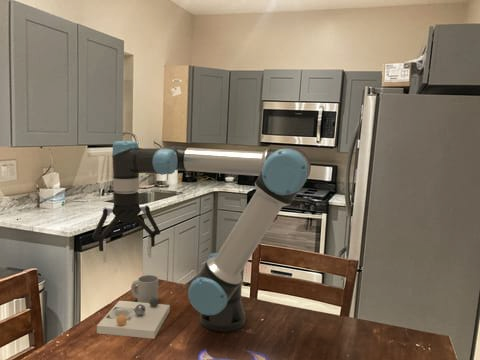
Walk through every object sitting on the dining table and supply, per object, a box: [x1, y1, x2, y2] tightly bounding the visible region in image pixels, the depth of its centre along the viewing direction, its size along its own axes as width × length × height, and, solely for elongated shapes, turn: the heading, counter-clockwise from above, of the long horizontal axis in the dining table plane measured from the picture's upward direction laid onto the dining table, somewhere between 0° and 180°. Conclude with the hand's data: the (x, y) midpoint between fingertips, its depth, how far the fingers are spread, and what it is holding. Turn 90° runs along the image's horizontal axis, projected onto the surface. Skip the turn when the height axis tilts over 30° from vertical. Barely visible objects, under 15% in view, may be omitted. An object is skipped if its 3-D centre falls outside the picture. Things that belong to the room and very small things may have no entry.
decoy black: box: [149, 298, 159, 307], centre depth 138 cm, size 3×3×3 cm
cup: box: [130, 274, 159, 303], centre depth 147 cm, size 7×10×9 cm
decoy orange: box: [117, 315, 127, 325], centre depth 125 cm, size 3×3×3 cm
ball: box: [135, 304, 146, 316], centre depth 132 cm, size 4×4×4 cm
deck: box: [96, 300, 171, 340], centre depth 132 cm, size 18×18×2 cm
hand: (127, 258), depth 127 cm, fingers open, 13 cm apart
